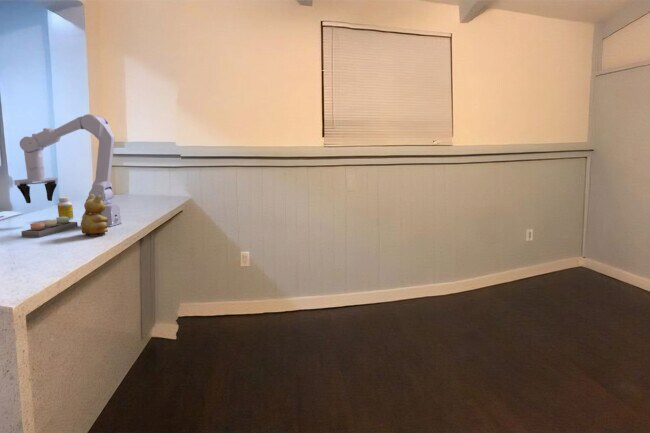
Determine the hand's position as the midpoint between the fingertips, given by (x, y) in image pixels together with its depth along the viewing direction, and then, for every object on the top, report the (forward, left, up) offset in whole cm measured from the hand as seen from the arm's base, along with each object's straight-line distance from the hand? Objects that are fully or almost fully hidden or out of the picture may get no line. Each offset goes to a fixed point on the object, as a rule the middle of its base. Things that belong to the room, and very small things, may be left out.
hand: (39, 201), depth 160 cm
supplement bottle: (+1, -14, -10) cm, 17 cm away
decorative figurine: (-32, +12, -10) cm, 36 cm away
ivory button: (-12, +9, -8) cm, 17 cm away
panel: (-12, +9, -10) cm, 18 cm away
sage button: (-12, +3, -8) cm, 14 cm away
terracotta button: (-12, +15, -8) cm, 21 cm away
